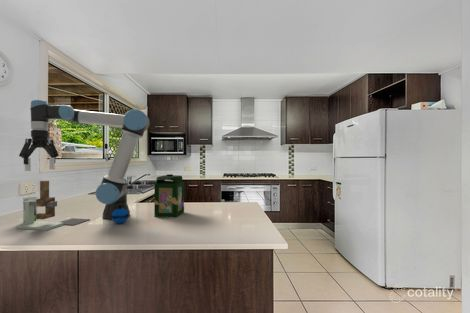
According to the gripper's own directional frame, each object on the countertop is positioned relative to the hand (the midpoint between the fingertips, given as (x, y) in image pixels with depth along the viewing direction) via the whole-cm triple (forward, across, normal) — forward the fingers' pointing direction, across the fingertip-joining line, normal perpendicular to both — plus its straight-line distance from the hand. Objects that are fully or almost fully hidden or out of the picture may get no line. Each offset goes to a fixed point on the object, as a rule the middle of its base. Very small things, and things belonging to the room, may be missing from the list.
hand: (40, 170), depth 139 cm
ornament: (+30, -12, +39) cm, 50 cm away
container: (+30, -38, +55) cm, 73 cm away
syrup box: (+29, -2, -10) cm, 31 cm away
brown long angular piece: (+24, +3, +6) cm, 25 cm away
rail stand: (+29, +3, +3) cm, 29 cm away
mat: (+29, -8, +12) cm, 33 cm away
